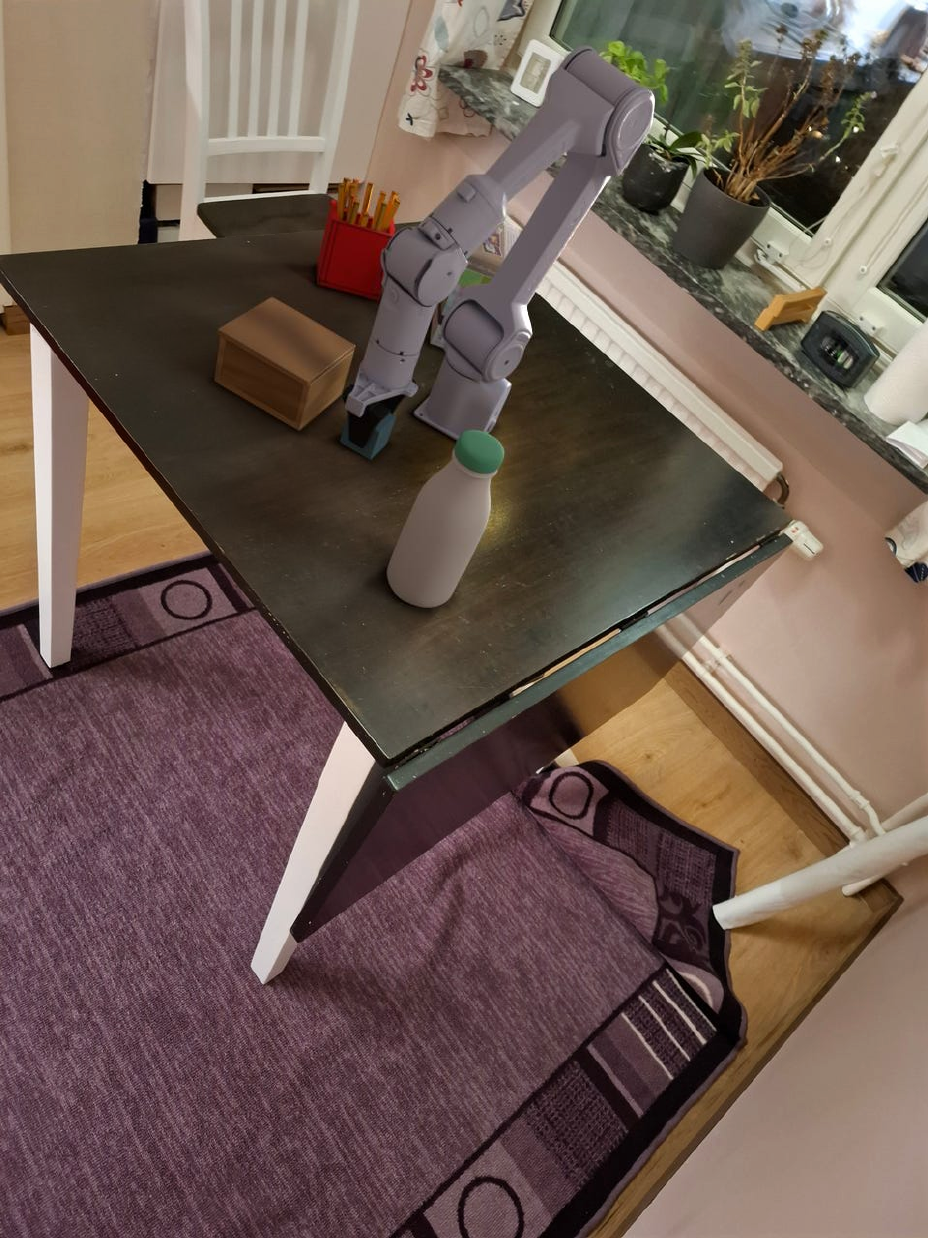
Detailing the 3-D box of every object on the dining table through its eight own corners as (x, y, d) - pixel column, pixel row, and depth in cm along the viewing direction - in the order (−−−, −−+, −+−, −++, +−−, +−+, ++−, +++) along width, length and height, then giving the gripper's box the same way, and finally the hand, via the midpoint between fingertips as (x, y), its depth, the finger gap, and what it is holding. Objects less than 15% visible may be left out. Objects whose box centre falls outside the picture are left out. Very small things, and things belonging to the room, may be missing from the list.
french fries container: (316, 262, 125) (337, 169, 115) (375, 278, 128) (400, 189, 118) (317, 287, 121) (338, 193, 111) (377, 302, 124) (403, 212, 114)
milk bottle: (443, 620, 88) (514, 485, 74) (376, 593, 87) (434, 451, 73) (458, 572, 94) (527, 438, 79) (395, 546, 93) (453, 405, 78)
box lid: (306, 387, 94) (308, 382, 93) (216, 334, 94) (217, 328, 94) (354, 349, 102) (355, 345, 101) (271, 301, 102) (272, 296, 102)
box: (298, 431, 99) (310, 385, 94) (214, 380, 100) (220, 332, 95) (341, 394, 107) (354, 350, 102) (262, 347, 107) (271, 301, 102)
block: (386, 443, 104) (396, 416, 100) (370, 460, 101) (379, 432, 97) (356, 426, 104) (365, 398, 101) (339, 441, 101) (348, 413, 98)
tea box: (491, 366, 123) (530, 277, 113) (428, 345, 121) (461, 251, 110) (492, 315, 133) (528, 228, 123) (434, 294, 131) (465, 204, 120)
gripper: (398, 384, 86) (366, 479, 96) (453, 333, 96) (419, 424, 106) (341, 351, 86) (314, 448, 96) (401, 304, 96) (372, 396, 106)
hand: (366, 434), depth 101 cm, fingers closed on block, 4 cm apart
